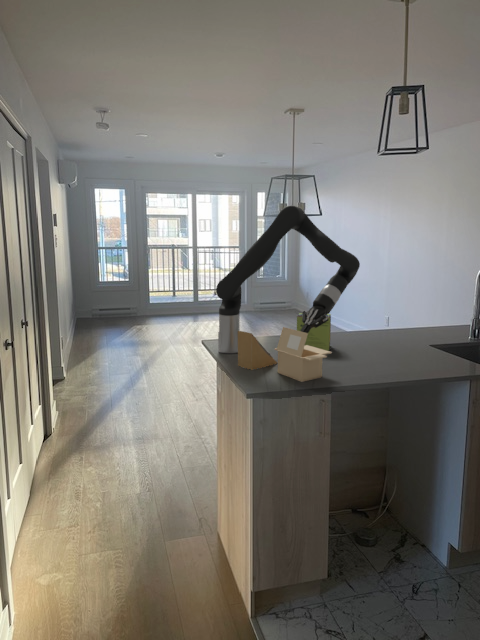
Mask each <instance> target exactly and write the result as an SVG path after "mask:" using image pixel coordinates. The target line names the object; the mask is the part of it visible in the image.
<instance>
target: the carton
mask: <svg viewBox="0 0 480 640" xmlns="http://www.w3.org/2000/svg"><path fill="white" fill-rule="evenodd" d="M274 351H277V363H278V364H277V373H278V374H280V375H282V376H285V377H287V378H291V379H294V380H295V381H298V382H301V383H304V382H308V381H311V380H317V379H320V378H322V377H323V359H326V358H328V355H330V354H332V353H333V352H332V351H330V350H329V351H326V350H323V349H319V348H316V347H312V346H309V345H305V346H304V349H303V353H302V356H301V357H299V356H295V355H292V354H289V353H286V352H283V351H280V350H277V347H275V348H274Z"/></svg>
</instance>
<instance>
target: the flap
mask: <svg viewBox="0 0 480 640" xmlns="http://www.w3.org/2000/svg"><path fill="white" fill-rule="evenodd" d="M307 335H308V333H305V332H301V331H297V329H292V328H289V327H284V326H283V327H282V329H281V332H280V336H279V340H278V342H277V343H278V344H277V347H276V348H277V350H280V351H283V352H286V353H289V354H292V355H295V356H299V357H301V356H302V353H303V349H304V346H305V342H306V339H307ZM277 350H276V351H277Z"/></svg>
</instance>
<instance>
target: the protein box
mask: <svg viewBox="0 0 480 640" xmlns="http://www.w3.org/2000/svg"><path fill="white" fill-rule="evenodd" d="M326 316H327V318H328V319H329V320H328V321H327V322H325V323H324V324H322V325H320V326H319V327H317V328H315V327H313V328H311V329H310V331H309V332H308V335H307V339H306V342H305V345H309V346H312V347H316V348H319V349H323V350H326V351H330V347H331V346H330V345H331V327H332V323H331V322H332V321H331V320H332V314H331V313H329V314H327V315H326ZM318 323H319V322H318ZM303 326H304V323H303V322H302V312H300V313H298V314H297V316H296V330H297V331H301V329H302V327H303Z"/></svg>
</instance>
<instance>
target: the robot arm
mask: <svg viewBox="0 0 480 640" xmlns="http://www.w3.org/2000/svg"><path fill="white" fill-rule="evenodd" d="M291 230H294V231H296V232H298V233H299V234H300V235H302V236H303V237H305V239H307V241H308V242H309V243H310V244H311V245H312V246H313V248H314V249H315V250H316V251H317V252H318V253H319V254H320V255H321V256H323V258H325V259H326V260H327V261H328V262H330V263H336V264H337V265H339V267H338V269H337V270H336V273H335V274H334V275H333V276H332V277H330V279H329V280H328V281H327V283H326V284H325V285H324V287H323V288H322V289H321V290H320V291H319V293H318V295H317V296H316V298H315V299H314V300H313V302H312V305H311V307H310V308H309V310H307V311H305V310H302V312H301V313H302V322H303V323H304V326H303V327H302V329H301V332H305V333H308V332H309V331H310V329H311V328H313V327H315V328H317V327H319V326H320V325H322V324H324V323H325V322H327V321H328V320H329V319H328V318H327V316H326V315H327V314H331V312H332V310H333V309H334V307H335V306H336V305H337V302H338V301H339V300H340V297H341V295H343V293H344V292H345V290H346V289H347V287H348V285H349V284H350V283H351V282H352V281H353V279H354V278H355V277H356V275H357V273H358V270H359V269H360V266H361V265H360V261H359V258H358V257H357V256H356V255H354V254H352V253H351V252H349V251H348V250H345V249H343V248H341V247H340V246H339V245H338V244H337V243H336V242H335V241H334V240H332V239H331V238H330V237H329V236H328V235H326V234H325V233H324V232H323V231H322V230H321V229H319V227H317V226H316V225H315V223H314V222H313V221H312V220H311V219H310V218H309V217H308V215H307V214H306V213H305V211H304V209H302V208H301V207H299V206H296V205H293V204H291V205H286V206H285V207H283V208H282V209H281V210H280V211H279V213H278V214H277V216H276V217H275V218H274V220H273V221H272V223H271V224H270V226H269V227H268V228H266V230H265V231H264V232H263V233H262V234H261V236H259V238H258V239H257V240H256V241H255V242H253V245H251V246H250V248H249V249H248V250H247V251H246V252H245V254H244V255H243V256H242V257H241V259H240V260H239V261H238V262H237V264H236V265H235V266H234V268H233V269H232V270H230V272H229V273H227V274H226V275H225V276H224V277H222V279H221V280H220V281H218V283H217V284H216V290H215V294H216V295H217V297H218V298H219V299H220V300H221V304H220V306H219V308H218V323H219V324H218V335H217V337H218V338H217V340H218V342H217V344H218V353H222V354H236V353H237V354H238V331H241V330H240V323H241V322H240V320H241V319H240V317H241V316H240V313H241V312H240V310H241V307H242V285H243V284H244V283H245V281H246V280H248V278H250V277H251V276H253V275H254V274H255V273H257V272H258V271H259V270H260V269H262V268H263V267H264V266H265V264H266V263H267V262H269V260H270V259H271V257H272V256H273V255H274V253H275V251H276V249H277V247H278V245H279V243H280V242H281V240H282V239H283V238H284V236H286V234H288V233H289V232H290V231H291ZM318 322H319V323H318Z"/></svg>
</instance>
